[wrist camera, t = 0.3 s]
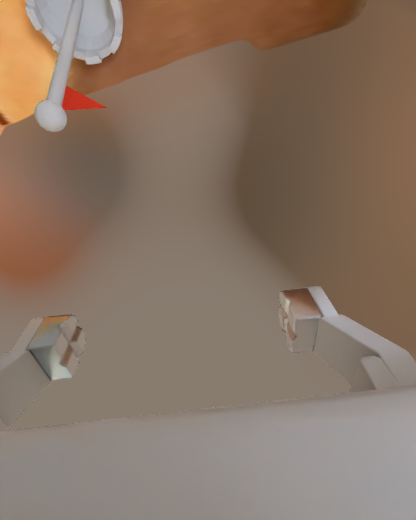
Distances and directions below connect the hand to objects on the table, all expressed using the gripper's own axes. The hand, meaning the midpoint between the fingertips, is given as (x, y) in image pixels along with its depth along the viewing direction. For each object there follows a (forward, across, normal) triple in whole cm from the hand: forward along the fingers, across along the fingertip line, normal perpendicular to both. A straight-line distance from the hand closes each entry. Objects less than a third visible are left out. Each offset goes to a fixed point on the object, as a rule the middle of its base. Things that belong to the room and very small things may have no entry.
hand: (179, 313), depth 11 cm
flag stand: (+50, +14, -19) cm, 56 cm away
